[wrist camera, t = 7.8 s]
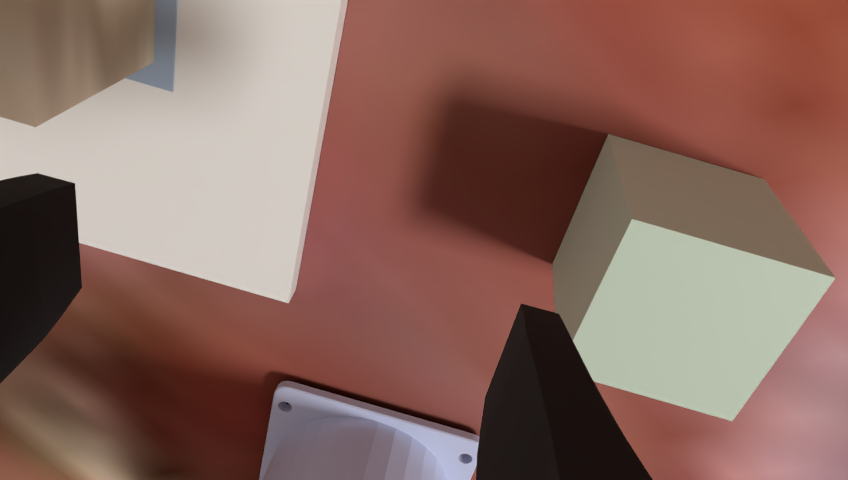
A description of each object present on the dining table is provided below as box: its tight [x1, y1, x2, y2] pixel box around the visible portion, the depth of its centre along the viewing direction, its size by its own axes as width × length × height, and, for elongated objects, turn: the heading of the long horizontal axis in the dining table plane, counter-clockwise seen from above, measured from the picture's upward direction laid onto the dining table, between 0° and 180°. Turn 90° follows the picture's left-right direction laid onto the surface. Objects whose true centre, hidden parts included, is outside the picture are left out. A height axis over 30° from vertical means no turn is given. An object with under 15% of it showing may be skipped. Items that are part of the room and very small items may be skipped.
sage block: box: [552, 134, 835, 421], centre depth 17 cm, size 4×4×5 cm
